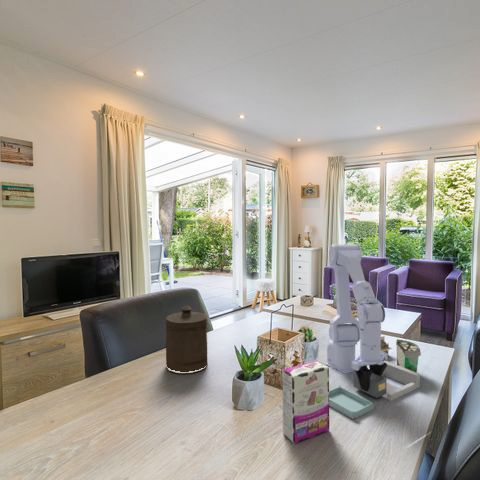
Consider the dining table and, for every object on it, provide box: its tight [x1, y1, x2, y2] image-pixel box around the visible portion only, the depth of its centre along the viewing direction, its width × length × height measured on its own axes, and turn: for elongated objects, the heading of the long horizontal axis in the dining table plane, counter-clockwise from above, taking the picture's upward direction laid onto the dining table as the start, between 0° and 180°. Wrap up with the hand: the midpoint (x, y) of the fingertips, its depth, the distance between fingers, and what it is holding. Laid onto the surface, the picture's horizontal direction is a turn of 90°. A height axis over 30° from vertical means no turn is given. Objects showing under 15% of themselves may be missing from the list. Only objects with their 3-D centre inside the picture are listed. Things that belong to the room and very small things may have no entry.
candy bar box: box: [281, 360, 330, 445], centre depth 85 cm, size 11×5×16 cm, turn 118°
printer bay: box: [380, 360, 421, 402], centre depth 108 cm, size 12×15×4 cm
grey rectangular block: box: [353, 371, 388, 399], centre depth 104 cm, size 8×4×4 cm, turn 33°
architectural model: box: [381, 335, 393, 354], centre depth 132 cm, size 3×7×7 cm, turn 121°
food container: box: [395, 339, 422, 373], centre depth 117 cm, size 12×6×10 cm, turn 168°
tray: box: [329, 385, 375, 421], centre depth 98 cm, size 12×9×2 cm
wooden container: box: [165, 305, 208, 372], centre depth 125 cm, size 15×15×22 cm
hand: (369, 387), depth 104 cm, fingers closed on grey rectangular block, 4 cm apart
